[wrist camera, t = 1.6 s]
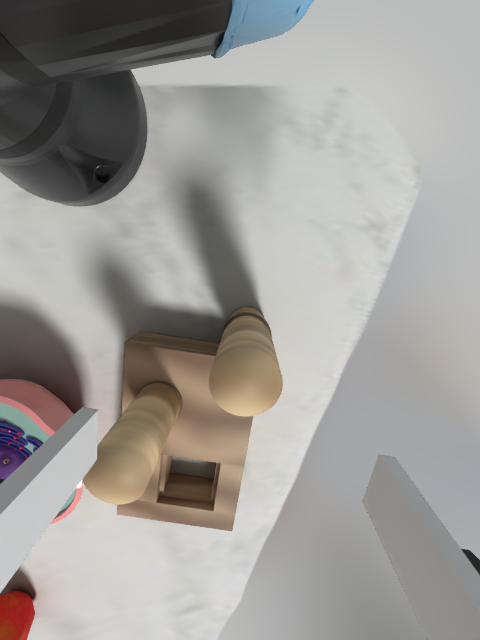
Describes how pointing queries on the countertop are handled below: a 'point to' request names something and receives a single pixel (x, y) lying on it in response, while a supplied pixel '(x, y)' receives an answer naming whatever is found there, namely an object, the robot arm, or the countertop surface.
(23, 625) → the apple
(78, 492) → the cell model
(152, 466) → the board
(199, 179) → the countertop surface
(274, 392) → the peg
